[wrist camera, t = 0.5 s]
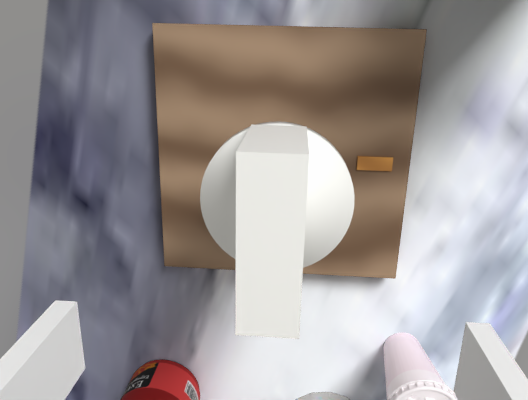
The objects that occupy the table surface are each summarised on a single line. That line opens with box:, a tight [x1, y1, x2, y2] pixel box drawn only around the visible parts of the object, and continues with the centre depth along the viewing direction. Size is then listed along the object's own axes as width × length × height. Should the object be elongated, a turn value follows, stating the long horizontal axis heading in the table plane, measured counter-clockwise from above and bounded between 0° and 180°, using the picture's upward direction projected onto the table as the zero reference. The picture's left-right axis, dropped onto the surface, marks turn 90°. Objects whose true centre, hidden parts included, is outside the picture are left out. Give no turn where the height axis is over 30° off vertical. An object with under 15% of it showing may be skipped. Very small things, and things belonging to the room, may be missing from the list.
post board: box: [152, 23, 427, 278], centre depth 38 cm, size 22×22×12 cm
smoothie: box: [383, 333, 457, 400], centre depth 42 cm, size 6×6×14 cm
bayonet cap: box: [200, 121, 354, 339], centre depth 28 cm, size 12×10×9 cm
